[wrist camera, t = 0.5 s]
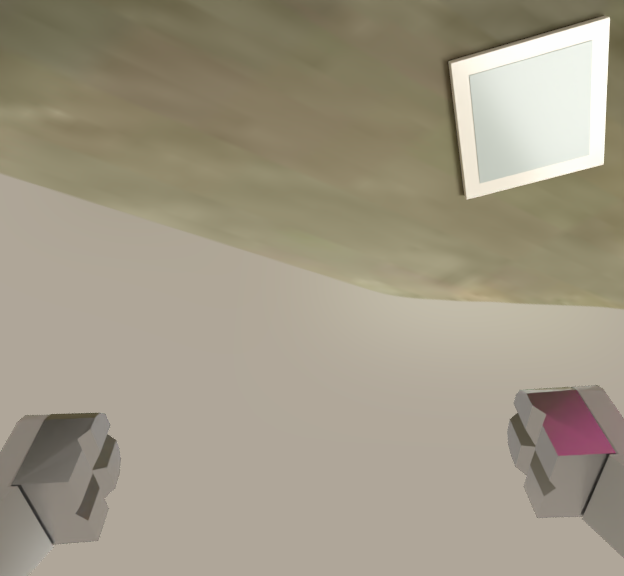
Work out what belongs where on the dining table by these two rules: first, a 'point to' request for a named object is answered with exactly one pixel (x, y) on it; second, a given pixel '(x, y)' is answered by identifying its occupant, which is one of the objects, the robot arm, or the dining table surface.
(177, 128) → the dining table surface
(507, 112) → the plate
